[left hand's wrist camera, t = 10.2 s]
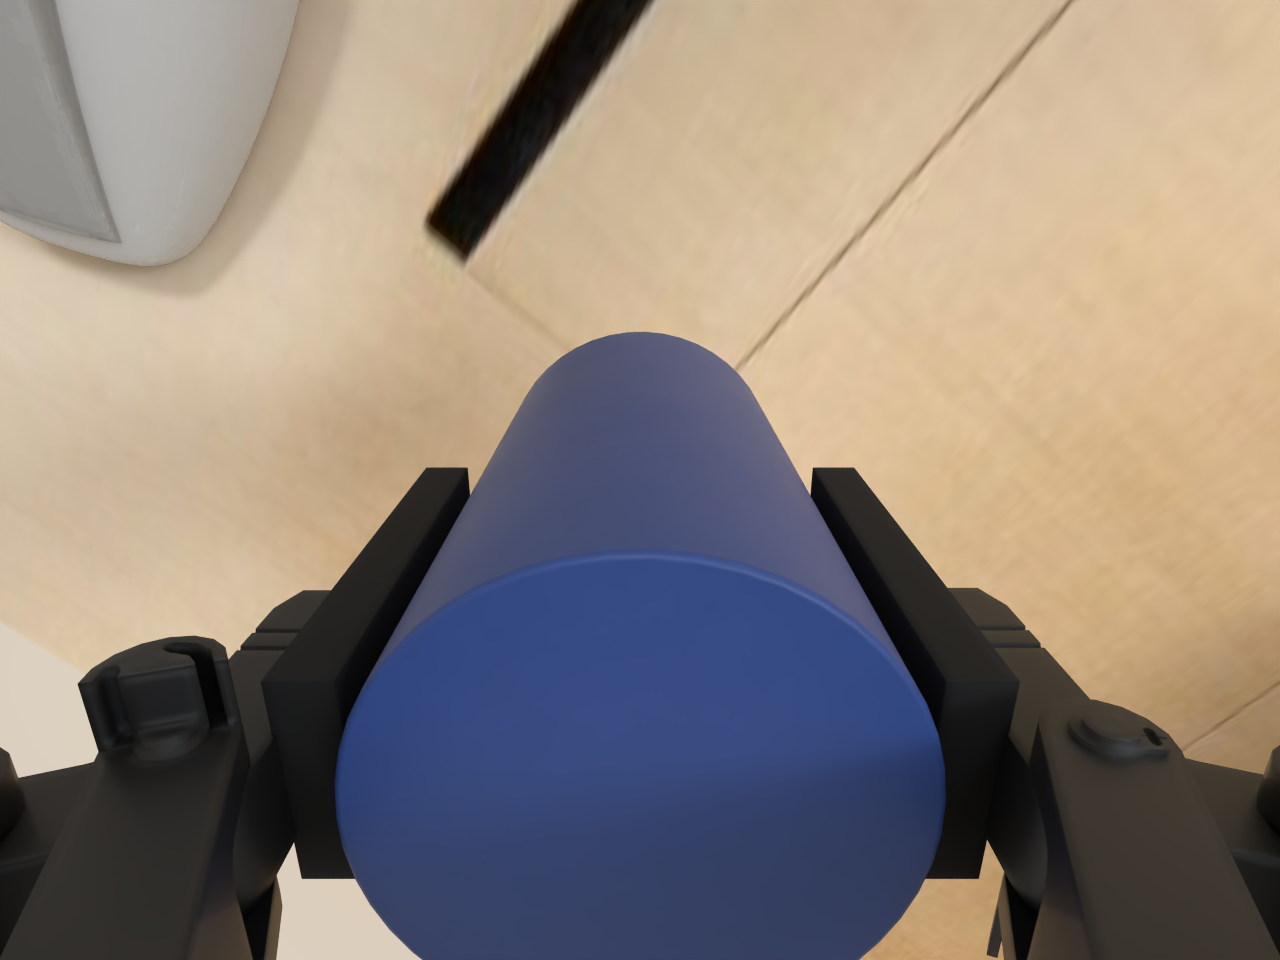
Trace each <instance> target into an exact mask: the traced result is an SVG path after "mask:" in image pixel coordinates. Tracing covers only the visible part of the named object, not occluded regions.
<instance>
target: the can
mask: <svg viewBox="0 0 1280 960" xmlns="http://www.w3.org/2000/svg"><path fill="white" fill-rule="evenodd" d="M334 783H335V802H336V819H337V823H338V828H339V832H340V837H341V841H342V846H343V850H344V852H345V855H346V857H347V860H348V862H349V865H350V867H351V870H352V872H353V875H354V878H355V879H356V881H357V883H358V884H359V886H360V888H361V890H362V891H363V893H364V895H365V897H366V898H367V900H368V902H369V903H370V905H371V906H372V908H373V909H374V910H375V911H376V913H377V914H378V915H379V917H380V918H381V919H382V920H383V922H384V923H385V924H386V926H387V927H388V928H389V929H390V930H391V931H392V932H393V933H394V934H395V935H396V936H397V937H398V938H399V939H400V940H401V941H402V942H403V943H404V944H405V945H406V946H407V947H408V948H409V949H410V950H411V951H412V952H413V953H414V954H416V955H417V956H418V957H419V958H421V959H422V960H859V959H860V958H861V957H863V956H864V955H865V954H866V953H867V952H868V951H870V950H871V949H872V948H873V947H874V946H875V945H876V944H878V943H879V942H880V941H881V940H882V938H883V937H884V936H885V935H886V934H887V933H888V932H889V931H890V930H891V928H892V927H893V926H894V925H895V924H896V923H897V922H898V921H899V920H900V918H901V917H902V916H903V914H904V913H905V911H906V910H907V908H908V907H909V905H910V904H911V902H912V901H913V899H914V898H915V897H916V895H917V894H918V892H919V890H920V888H921V886H922V884H923V882H924V880H925V878H926V876H927V874H928V872H929V870H930V868H931V866H932V863H933V860H934V857H935V853H936V850H937V847H938V844H939V841H940V837H941V834H942V827H943V820H944V813H945V805H946V780H945V764H944V759H943V754H942V749H941V744H940V739H939V734H938V732H937V729H936V727H935V724H934V721H933V719H932V716H931V714H930V711H929V708H928V706H927V703H926V701H925V700H924V698H923V696H922V694H921V693H920V691H919V689H918V687H917V685H916V684H915V682H914V680H913V678H912V676H911V675H910V673H909V671H908V669H907V668H906V666H905V664H904V662H903V660H902V659H901V657H900V655H899V653H898V651H897V650H896V648H895V646H894V644H893V643H892V641H891V639H890V637H889V635H888V634H887V632H886V630H885V628H884V626H883V625H882V623H881V621H880V619H879V618H878V616H877V614H876V612H875V610H874V609H873V607H872V605H871V603H870V601H869V600H868V598H867V596H866V594H865V593H864V591H863V589H862V587H861V585H860V584H859V582H858V580H857V578H856V576H855V575H854V573H853V571H852V569H851V568H850V566H849V564H848V562H847V560H846V559H845V557H844V555H843V553H842V552H841V550H840V548H839V546H838V544H837V543H836V541H835V539H834V537H833V535H832V534H831V532H830V530H829V528H828V527H827V525H826V523H825V521H824V519H823V518H822V516H821V514H820V512H819V510H818V509H817V507H816V505H815V503H814V502H813V500H812V498H811V496H810V494H809V493H808V491H807V489H806V487H805V485H804V484H803V482H802V480H801V478H800V477H799V475H798V473H797V471H796V469H795V468H794V466H793V464H792V462H791V460H790V459H789V457H788V455H787V453H786V452H785V450H784V448H783V446H782V444H781V443H780V441H779V439H778V437H777V435H776V434H775V432H774V430H773V428H772V427H771V425H770V423H769V421H768V419H767V418H766V416H765V414H764V412H763V410H762V409H761V407H760V405H759V403H758V402H757V400H756V398H755V396H754V395H753V393H752V391H751V390H750V388H749V387H748V385H747V384H746V383H745V382H744V380H743V379H742V378H741V376H740V375H739V374H738V373H737V372H736V371H735V370H734V369H733V368H732V367H731V366H729V365H728V364H727V363H726V362H725V361H723V360H722V359H721V358H719V357H718V356H717V355H715V354H714V353H712V352H711V351H709V350H707V349H705V348H703V347H701V346H700V345H698V344H695V343H693V342H690V341H687V340H685V339H682V338H679V337H675V336H670V335H666V334H661V333H651V332H627V333H621V334H615V335H609V336H606V337H602V338H599V339H596V340H593V341H590V342H588V343H586V344H584V345H581V346H579V347H577V348H575V349H574V350H572V351H570V352H569V353H567V354H566V355H564V356H562V357H561V358H560V359H559V360H557V361H556V362H555V363H554V364H553V365H551V366H550V367H549V368H548V369H547V370H546V371H545V372H544V373H543V374H542V375H541V376H540V378H539V379H538V380H537V381H536V382H535V384H534V385H533V387H532V388H531V390H530V391H529V392H528V394H527V395H526V397H525V399H524V401H523V403H522V404H521V406H520V408H519V410H518V411H517V413H516V415H515V417H514V419H513V420H512V422H511V424H510V426H509V427H508V429H507V431H506V433H505V435H504V436H503V438H502V440H501V442H500V444H499V445H498V447H497V449H496V451H495V452H494V454H493V456H492V458H491V460H490V461H489V463H488V465H487V467H486V468H485V470H484V472H483V474H482V476H481V477H480V479H479V481H478V483H477V484H476V486H475V488H474V490H473V492H472V493H471V495H470V497H469V499H468V501H467V502H466V504H465V506H464V508H463V509H462V511H461V513H460V515H459V517H458V518H457V520H456V522H455V524H454V525H453V527H452V529H451V531H450V533H449V534H448V536H447V538H446V540H445V541H444V543H443V545H442V547H441V549H440V550H439V552H438V554H437V556H436V558H435V559H434V561H433V563H432V565H431V566H430V568H429V570H428V572H427V574H426V575H425V577H424V579H423V581H422V582H421V584H420V586H419V588H418V590H417V591H416V593H415V595H414V597H413V598H412V600H411V602H410V604H409V606H408V607H407V609H406V611H405V613H404V614H403V616H402V618H401V620H400V622H399V623H398V625H397V627H396V629H395V631H394V632H393V634H392V636H391V638H390V639H389V641H388V643H387V645H386V647H385V648H384V650H383V652H382V654H381V655H380V657H379V659H378V661H377V663H376V664H375V666H374V668H373V670H372V671H371V673H370V675H369V677H368V679H367V680H366V682H365V684H364V686H363V688H362V690H361V692H360V694H359V696H358V698H357V700H356V702H355V704H354V706H353V708H352V710H351V712H350V714H349V716H348V719H347V722H346V725H345V729H344V732H343V736H342V739H341V742H340V746H339V749H338V756H337V765H336V773H335V782H334Z"/></svg>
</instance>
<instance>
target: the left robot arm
mask: <svg viewBox="0 0 1280 960" xmlns="http://www.w3.org/2000/svg"><path fill="white" fill-rule="evenodd" d="M469 497H470V490H469V479H468V468H426V469H425V470H424V472H423V473H422V474H421V475H420V477H419V478H418V479H417V481H416V482H415V483H414V484H413V486H412V487H411V488H410V490H409V491H408V492H407V493H406V495H405V496H404V497H403V499H402V500H401V501H400V502H399V504H398V505H397V506H396V508H395V509H394V510H393V512H392V513H391V514H390V515H389V517H388V518H387V519H386V521H385V522H384V523H383V524H382V526H381V527H380V528H379V530H378V531H377V532H376V533H375V535H374V536H373V537H372V539H371V540H370V541H369V542H368V544H367V545H366V546H365V548H364V549H363V550H362V551H361V553H360V554H359V555H358V557H357V558H356V559H355V561H354V562H353V563H352V564H351V566H350V567H349V568H348V570H347V571H346V572H345V573H344V575H343V576H342V577H341V579H340V580H339V581H338V582H337V584H336V585H335V586H334V588H333V589H332V590H303V591H302V592H300V593H298V594H297V595H295V596H293V597H292V598H290V599H288V600H287V601H285V602H283V603H282V604H280V605H278V606H277V607H275V608H274V609H273V610H272V611H271V612H270V613H269V614H268V616H267V617H266V618H265V619H264V620H263V621H262V622H261V624H260V625H259V626H258V627H257V628H256V633H252V634H251V635H250V636H249V637H248V638H247V639H246V641H245V642H244V643H243V644H242V645H241V649H240V650H237V651H236V652H235V653H234V654H233V655H232V656H231V658H230V659H229V660H228V657H227V653H226V648H225V647H224V646H223V645H221V644H220V643H219V642H217V641H216V640H214V639H210V638H205V637H199V636H182V637H169V638H164V639H160V640H156V641H152V642H147V643H143V644H140V645H137V646H135V647H132V648H130V649H127V650H125V651H122V652H120V653H117V654H115V655H113V656H111V657H110V658H108V659H107V660H105V661H103V662H102V663H100V664H99V665H97V666H95V667H94V668H92V669H91V670H90V671H89V672H88V673H87V674H86V675H85V676H84V678H83V679H82V680H81V681H80V682H79V683H78V687H79V690H80V693H81V697H82V700H83V703H84V706H85V709H86V713H87V716H88V719H89V722H90V725H91V729H92V732H93V735H94V738H95V742H96V745H97V748H98V751H99V752H98V754H97V756H96V759H95V761H94V762H92V763H88V764H84V765H79V766H75V767H70V768H65V769H60V770H55V771H50V772H45V773H41V774H35V775H31V776H26V777H21V778H18V776H17V774H16V771H15V768H14V765H13V763H12V760H11V757H10V754H9V753H8V752H6V751H5V750H3V749H2V748H0V960H276V955H277V947H278V939H279V930H280V922H281V913H282V901H281V894H280V889H279V884H278V879H277V873H278V871H279V869H280V867H281V866H282V864H283V862H284V860H285V858H286V856H287V854H288V852H289V851H290V849H291V847H292V845H293V843H295V848H296V853H297V858H298V863H299V867H300V872H301V877H302V879H355V878H354V875H353V872H352V870H351V867H350V865H349V862H348V860H347V857H346V855H345V852H344V850H343V846H342V841H341V837H340V832H339V828H338V823H337V819H336V802H335V783H334V782H335V773H336V765H337V756H338V749H339V746H340V742H341V739H342V736H343V732H344V729H345V725H346V722H347V719H348V716H349V714H350V712H351V710H352V708H353V706H354V704H355V702H356V700H357V698H358V696H359V694H360V692H361V690H362V688H363V686H364V684H365V682H366V680H367V679H368V677H369V675H370V673H371V671H372V670H373V668H374V666H375V664H376V663H377V661H378V659H379V657H380V655H381V654H382V652H383V650H384V648H385V647H386V645H387V643H388V641H389V639H390V638H391V636H392V634H393V632H394V631H395V629H396V627H397V625H398V623H399V622H400V620H401V618H402V616H403V614H404V613H405V611H406V609H407V607H408V606H409V604H410V602H411V600H412V598H413V597H414V595H415V593H416V591H417V590H418V588H419V586H420V584H421V582H422V581H423V579H424V577H425V575H426V574H427V572H428V570H429V568H430V566H431V565H432V563H433V561H434V559H435V558H436V556H437V554H438V552H439V550H440V549H441V547H442V545H443V543H444V541H445V540H446V538H447V536H448V534H449V533H450V531H451V529H452V527H453V525H454V524H455V522H456V520H457V518H458V517H459V515H460V513H461V511H462V509H463V508H464V506H465V504H466V502H467V501H468V499H469ZM811 498H812V500H813V502H814V503H815V505H816V507H817V509H818V510H819V512H820V514H821V516H822V518H823V519H824V521H825V523H826V525H827V527H828V528H829V530H830V532H831V534H832V535H833V537H834V539H835V541H836V543H837V544H838V546H839V548H840V550H841V552H842V553H843V555H844V557H845V559H846V560H847V562H848V564H849V566H850V568H851V569H852V571H853V573H854V575H855V576H856V578H857V580H858V582H859V584H860V585H861V587H862V589H863V591H864V593H865V594H866V596H867V598H868V600H869V601H870V603H871V605H872V607H873V609H874V610H875V612H876V614H877V616H878V618H879V619H880V621H881V623H882V625H883V626H884V628H885V630H886V632H887V634H888V635H889V637H890V639H891V641H892V643H893V644H894V646H895V648H896V650H897V651H898V653H899V655H900V657H901V659H902V660H903V662H904V664H905V666H906V668H907V669H908V671H909V673H910V675H911V676H912V678H913V680H914V682H915V684H916V685H917V687H918V689H919V691H920V693H921V694H922V696H923V698H924V700H925V701H926V703H927V706H928V708H929V711H930V714H931V716H932V719H933V721H934V724H935V727H936V729H937V732H938V734H939V739H940V744H941V749H942V754H943V759H944V764H945V780H946V805H945V813H944V820H943V827H942V834H941V837H940V841H939V844H938V847H937V850H936V853H935V857H934V860H933V863H932V866H931V868H930V870H929V872H928V874H927V876H926V878H925V879H979V875H980V870H981V865H982V861H983V856H984V851H985V846H986V842H987V840H988V842H989V844H990V846H991V848H992V849H993V851H994V853H995V855H996V857H997V859H998V861H999V862H1000V864H1001V866H1002V868H1003V870H1004V875H1003V879H1002V884H1001V888H1000V893H999V897H998V902H997V906H996V911H995V915H994V919H993V924H992V928H991V933H990V937H989V943H988V950H987V955H989V956H992V957H996V958H997V957H998V953H999V949H1000V944H1001V941H1002V945H1003V954H1004V960H1280V745H1279V746H1278V747H1276V748H1275V749H1273V751H1272V754H1271V756H1270V759H1269V762H1268V765H1267V767H1266V770H1265V773H1264V775H1262V774H1257V773H1252V772H1247V771H1242V770H1237V769H1232V768H1227V767H1223V766H1218V765H1213V764H1208V763H1203V762H1198V761H1194V760H1190V759H1187V758H1185V757H1184V755H1183V753H1182V751H1181V750H1180V748H1179V747H1178V746H1177V744H1176V743H1175V742H1174V741H1173V739H1172V738H1171V737H1170V736H1169V734H1167V733H1166V732H1165V731H1163V730H1162V729H1161V728H1159V727H1158V726H1156V725H1155V724H1154V723H1152V722H1151V721H1149V720H1148V719H1146V718H1144V717H1142V716H1140V715H1138V714H1136V713H1133V712H1131V711H1129V710H1127V709H1125V708H1123V707H1120V706H1116V705H1112V704H1109V703H1105V702H1101V701H1097V700H1090V699H1089V697H1088V696H1087V695H1086V694H1085V693H1084V692H1083V691H1082V690H1081V688H1080V687H1079V686H1078V685H1077V684H1076V683H1075V682H1074V681H1073V679H1072V678H1071V677H1070V676H1069V675H1068V674H1067V673H1066V672H1065V670H1064V669H1063V668H1062V667H1061V666H1060V665H1059V664H1058V663H1057V661H1056V660H1055V659H1054V658H1053V657H1052V656H1051V655H1050V654H1049V652H1048V651H1047V650H1046V649H1045V648H1041V646H1040V642H1039V641H1038V640H1037V639H1036V638H1035V637H1034V635H1033V634H1032V633H1031V632H1030V631H1029V630H1025V625H1024V624H1023V623H1022V622H1021V621H1020V620H1019V619H1018V617H1017V616H1016V615H1015V614H1014V613H1013V612H1012V611H1011V610H1010V608H1009V607H1008V606H1007V605H1005V604H1003V603H1002V602H1000V601H998V600H997V599H995V598H993V597H992V596H990V595H988V594H987V593H985V592H983V591H982V590H980V589H978V588H947V587H946V586H945V584H944V583H943V582H942V580H941V579H940V578H939V577H938V575H937V574H936V573H935V571H934V570H933V569H932V568H931V566H930V565H929V564H928V562H927V561H926V560H925V559H924V557H923V556H922V555H921V553H920V552H919V551H918V550H917V548H916V547H915V546H914V544H913V543H912V542H911V540H910V539H909V538H908V537H907V535H906V534H905V533H904V531H903V530H902V529H901V528H900V526H899V525H898V524H897V522H896V521H895V520H894V519H893V517H892V516H891V515H890V513H889V512H888V511H887V510H886V508H885V507H884V506H883V504H882V503H881V502H880V501H879V499H878V498H877V497H876V495H875V494H874V493H873V492H872V490H871V489H870V488H869V486H868V485H867V484H866V482H865V481H864V480H863V479H862V477H861V476H860V475H859V473H858V472H857V471H856V470H855V468H813V473H812V485H811Z"/></svg>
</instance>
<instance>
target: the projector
mask: <svg viewBox="0 0 1280 960" xmlns="http://www.w3.org/2000/svg"><path fill="white" fill-rule="evenodd" d="M299 2H300V0H0V221H2V222H4V223H5V224H7V225H9V226H11V227H12V228H14V229H17V230H19V231H21V232H23V233H25V234H27V235H30V236H32V237H35V238H37V239H40V240H42V241H45V242H48V243H51V244H54V245H57V246H60V247H63V248H66V249H69V250H73V251H76V252H80V253H83V254H87V255H90V256H94V257H98V258H102V259H106V260H109V261H113V262H118V263H124V264H129V265H138V266H158V265H164V264H168V263H171V262H173V261H176V260H179V259H181V258H182V257H184V256H186V255H187V254H189V253H190V252H192V251H193V250H194V249H195V248H196V247H197V246H198V245H199V244H200V243H201V241H202V240H203V239H204V238H205V236H206V235H207V233H208V232H209V230H210V229H211V227H212V226H213V224H214V223H215V221H216V220H217V218H218V216H219V214H220V212H221V211H222V209H223V207H224V205H225V204H226V202H227V200H228V198H229V196H230V194H231V192H232V190H233V188H234V186H235V184H236V182H237V180H238V178H239V176H240V173H241V171H242V169H243V167H244V165H245V163H246V161H247V159H248V156H249V154H250V152H251V149H252V147H253V144H254V142H255V139H256V137H257V135H258V132H259V130H260V127H261V125H262V123H263V120H264V118H265V115H266V112H267V109H268V107H269V104H270V101H271V98H272V95H273V92H274V90H275V87H276V84H277V81H278V78H279V74H280V71H281V68H282V65H283V62H284V58H285V55H286V52H287V48H288V44H289V40H290V37H291V33H292V29H293V25H294V21H295V18H296V14H297V10H298V6H299Z"/></svg>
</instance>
